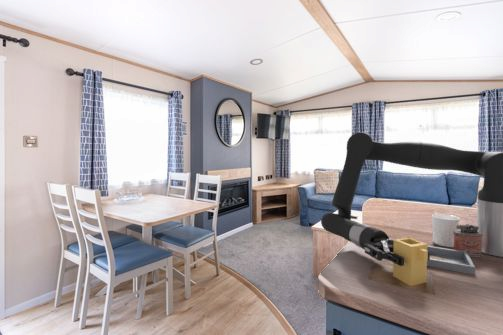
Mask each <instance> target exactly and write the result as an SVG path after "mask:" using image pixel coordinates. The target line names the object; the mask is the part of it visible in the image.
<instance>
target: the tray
mask: <svg viewBox="0 0 503 335" xmlns="http://www.w3.org/2000/svg"><path fill="white" fill-rule="evenodd" d="M427 250H428V252H429V254H430V255H432V256H435V257H437V258H440V259H436V258H432V257H430V260H428V261H427V267H432V268H438V269H442V270H449V271H453V272H459V273H464V274H468V275H474V276H476V275H475V274H476V266H475V264H474V263H473V262H474V261H473V260H472V259H471V257H469V255H468V254H467V252H465V251H459V250H454V249H451V248H447V247H446V248H445V247H439V246H432V245H427ZM441 259H442V260H441Z"/></svg>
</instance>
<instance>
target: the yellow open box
mask: <svg viewBox="0 0 503 335" xmlns="http://www.w3.org/2000/svg"><path fill="white" fill-rule="evenodd" d="M399 238H400V239H399ZM399 238H396V239H394V238H393V239H394V252H393V253H395V254H397V255H399V256H402V257H403V258H404V266H399V265H397V264H395V263H394V262H392V263H393V264H392V266H393V276H394V277H396V278H398V279H399V280H401V281H403V282H405V283H406V284H408V285H410V286H413V285H417V284H421V283H425V282H426V280H427V273H428V266H427V260H428V250H427V246H429V244H428V243H426V242H423V241H421V240H418V239H415V238H412V237H409V236H408V237H399ZM410 244H413V245H410Z"/></svg>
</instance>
